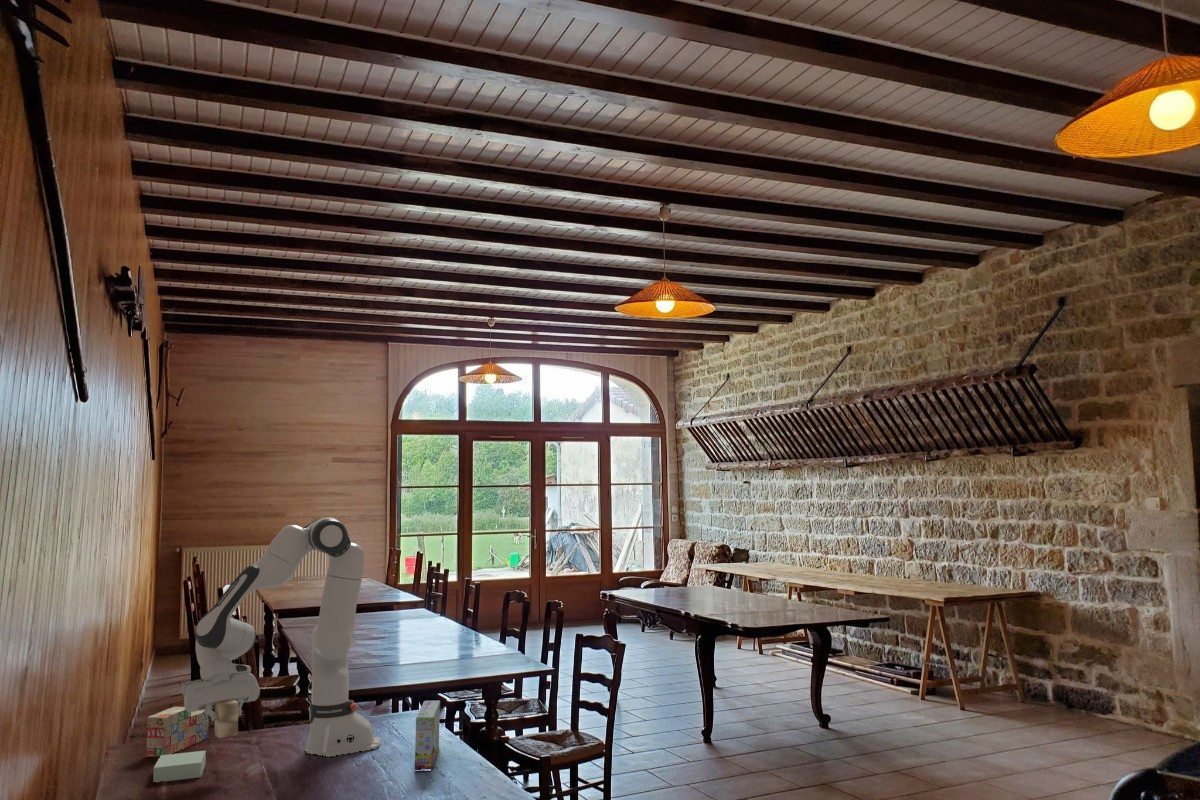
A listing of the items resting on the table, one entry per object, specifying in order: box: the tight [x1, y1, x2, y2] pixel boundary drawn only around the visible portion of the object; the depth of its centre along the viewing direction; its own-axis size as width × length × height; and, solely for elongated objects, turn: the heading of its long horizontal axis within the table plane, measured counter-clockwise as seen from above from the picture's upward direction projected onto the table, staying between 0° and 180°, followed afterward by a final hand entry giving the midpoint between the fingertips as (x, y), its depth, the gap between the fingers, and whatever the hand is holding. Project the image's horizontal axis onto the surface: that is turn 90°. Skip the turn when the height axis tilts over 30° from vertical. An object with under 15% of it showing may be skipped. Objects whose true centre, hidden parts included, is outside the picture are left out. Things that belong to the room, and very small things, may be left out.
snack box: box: [414, 700, 441, 770], centre depth 248 cm, size 21×6×15 cm, turn 6°
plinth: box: [152, 750, 207, 783], centre depth 240 cm, size 12×12×4 cm
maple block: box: [214, 700, 239, 739], centre depth 240 cm, size 5×5×9 cm
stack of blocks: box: [145, 706, 210, 757], centre depth 266 cm, size 21×6×12 cm, turn 170°
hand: (227, 717), depth 239 cm, fingers closed on maple block, 5 cm apart
